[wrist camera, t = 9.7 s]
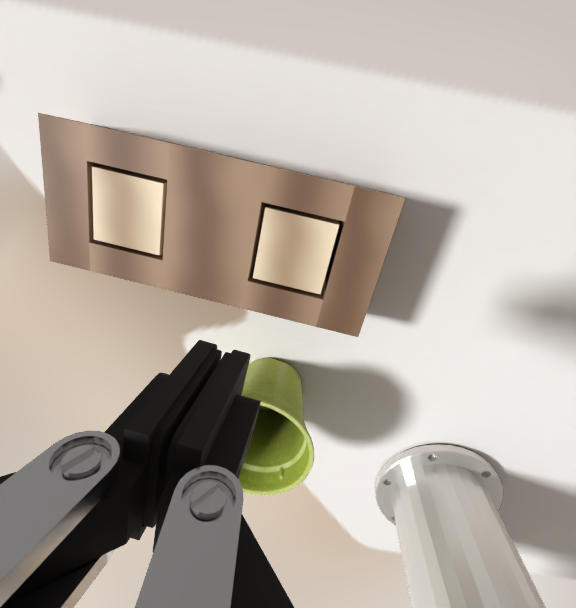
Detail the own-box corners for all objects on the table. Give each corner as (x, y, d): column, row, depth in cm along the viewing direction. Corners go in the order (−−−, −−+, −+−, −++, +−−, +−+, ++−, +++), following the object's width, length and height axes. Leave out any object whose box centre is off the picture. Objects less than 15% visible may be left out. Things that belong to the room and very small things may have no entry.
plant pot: (256, 431, 35) (234, 507, 27) (207, 364, 32) (167, 425, 24) (334, 402, 32) (335, 477, 24) (288, 326, 30) (272, 381, 22)
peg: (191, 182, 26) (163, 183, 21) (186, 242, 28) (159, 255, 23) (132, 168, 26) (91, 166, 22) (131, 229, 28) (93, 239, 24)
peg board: (391, 193, 25) (405, 198, 20) (353, 310, 28) (358, 337, 24) (91, 124, 25) (38, 112, 21) (94, 247, 29) (50, 260, 25)
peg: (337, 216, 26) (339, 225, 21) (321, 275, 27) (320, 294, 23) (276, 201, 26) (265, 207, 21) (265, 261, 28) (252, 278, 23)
